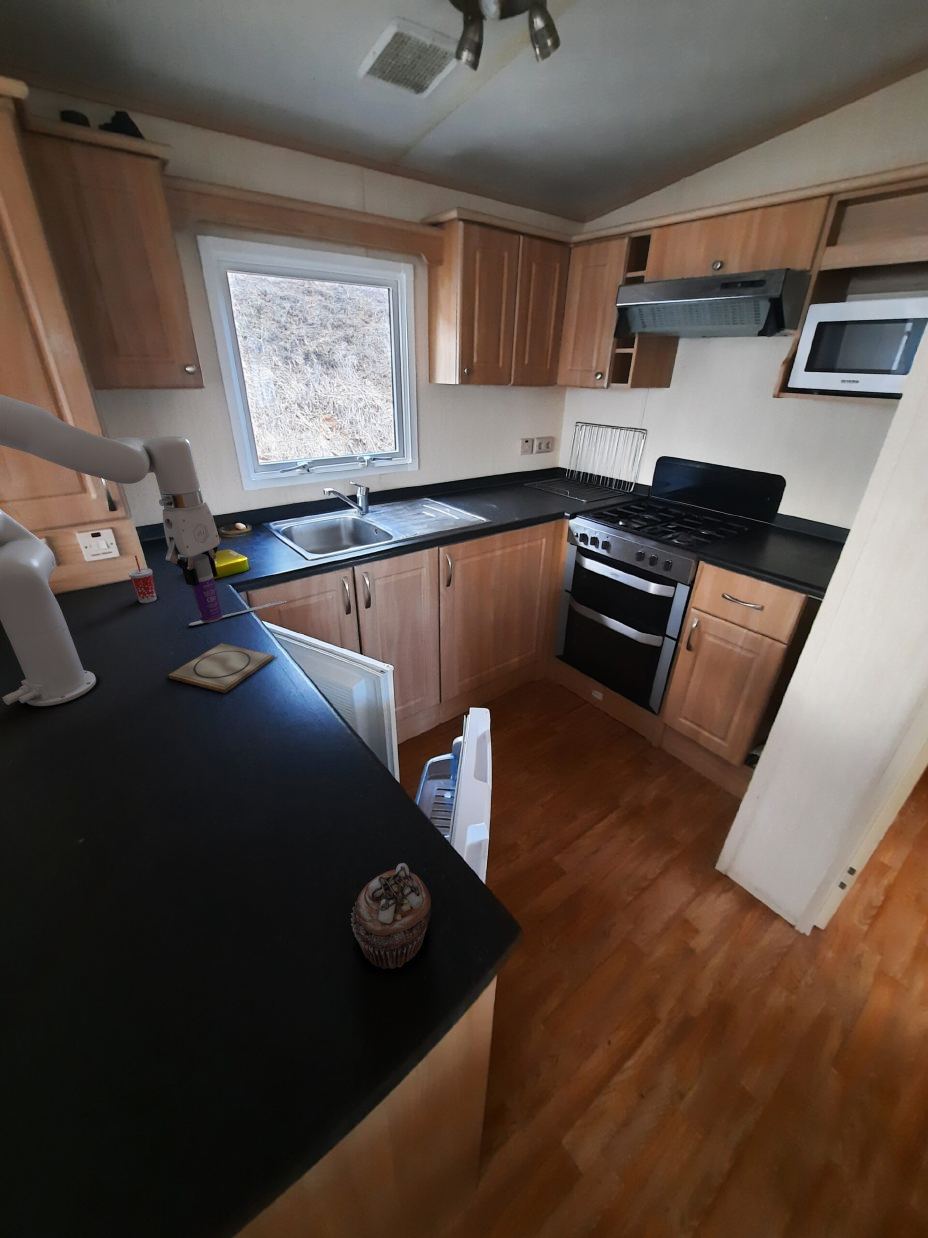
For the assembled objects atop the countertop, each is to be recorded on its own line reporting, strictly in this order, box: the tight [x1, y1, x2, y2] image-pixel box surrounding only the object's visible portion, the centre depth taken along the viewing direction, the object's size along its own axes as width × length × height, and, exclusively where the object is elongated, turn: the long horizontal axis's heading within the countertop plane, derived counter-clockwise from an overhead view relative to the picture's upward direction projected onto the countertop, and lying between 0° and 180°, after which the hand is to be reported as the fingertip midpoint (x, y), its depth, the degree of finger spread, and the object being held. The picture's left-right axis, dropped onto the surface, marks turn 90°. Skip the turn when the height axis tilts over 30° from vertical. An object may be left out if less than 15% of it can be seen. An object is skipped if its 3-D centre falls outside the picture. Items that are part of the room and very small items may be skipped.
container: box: [191, 553, 224, 624], centre depth 115 cm, size 5×5×15 cm
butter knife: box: [188, 600, 287, 627], centre depth 146 cm, size 1×27×3 cm
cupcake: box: [350, 862, 432, 970], centre depth 61 cm, size 10×10×10 cm
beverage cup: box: [127, 555, 158, 604], centre depth 150 cm, size 6×6×14 cm
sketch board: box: [168, 642, 275, 694], centre depth 119 cm, size 16×16×1 cm
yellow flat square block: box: [214, 548, 250, 580], centre depth 175 cm, size 15×15×5 cm
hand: (202, 579), depth 114 cm, fingers closed on container, 4 cm apart
